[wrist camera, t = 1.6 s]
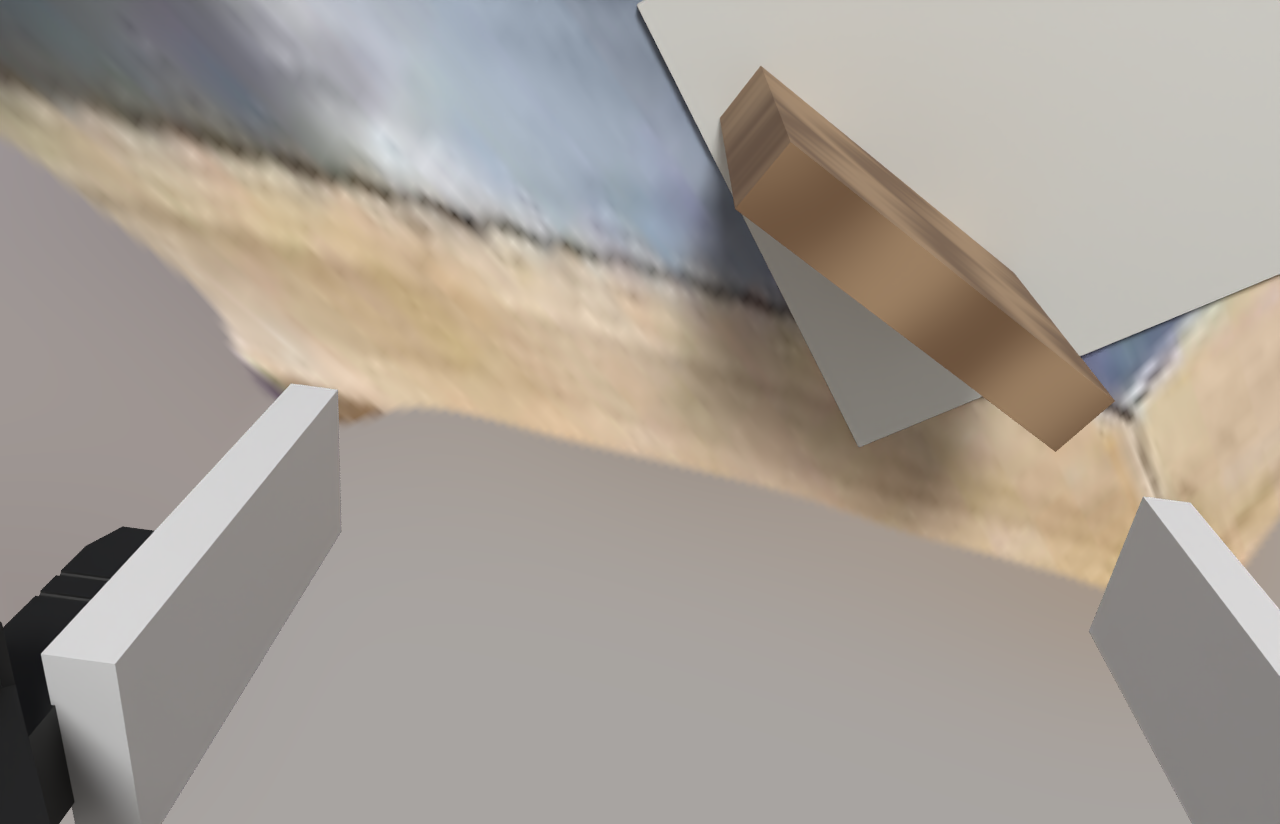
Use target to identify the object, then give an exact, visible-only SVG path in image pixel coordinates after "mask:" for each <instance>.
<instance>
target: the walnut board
mask: <svg viewBox="0 0 1280 824" xmlns="http://www.w3.org/2000/svg"><path fill="white" fill-rule="evenodd" d="M720 123H721V129H722V135H723V141H724V147H725V153H726V159H727V164H728V170H729V176H730V182H731V188H732V194H733V200H734V206H735V209H736V210H737V211H738V212H740V213H741V214H742V215H744V216H745V217H746V218H748V219H749V220H750V221H752V222H753V223H754V224H756V225H757V226H758V227H760V228H761V229H762V230H764V231H765V232H766V233H768V234H769V235H770V236H771V237H773V238H774V239H775V240H777V241H778V242H779V243H781V244H782V245H783V246H785V247H786V248H787V249H789V250H790V251H791V252H793V253H794V254H795V255H797V256H798V257H799V258H801V259H802V260H803V261H804V262H806V263H807V264H808V265H810V266H811V267H812V268H814V269H815V270H816V271H818V272H819V273H820V274H822V275H823V276H824V277H826V278H827V279H828V280H830V281H831V282H832V283H834V284H835V285H836V286H837V287H839V288H840V289H841V290H843V291H844V292H845V293H847V294H848V295H849V296H851V297H852V298H853V299H855V300H856V301H857V302H859V303H860V304H861V305H863V306H864V307H865V308H867V309H868V310H869V311H870V312H872V313H873V314H874V315H876V316H877V317H878V318H880V319H881V320H882V321H884V322H885V323H886V324H888V325H889V326H890V327H892V328H893V329H894V330H896V331H897V332H898V333H900V334H901V335H902V336H903V337H905V338H906V339H907V340H909V341H910V342H911V343H913V344H914V345H915V346H917V347H918V348H919V349H921V350H922V351H923V352H925V353H926V354H927V355H929V356H930V357H931V358H933V359H934V360H935V361H936V362H938V363H939V364H940V365H942V366H943V367H944V368H946V369H947V370H948V371H950V372H951V373H952V374H954V375H955V376H956V377H958V378H959V379H960V380H962V381H963V382H964V383H966V384H967V385H968V386H969V387H971V388H972V389H973V390H975V391H976V392H977V393H979V394H980V395H981V396H983V397H984V398H985V399H987V400H988V401H989V402H991V403H992V404H993V405H995V406H996V407H997V408H999V409H1000V410H1001V411H1002V412H1004V413H1005V414H1006V415H1008V416H1009V417H1010V418H1012V419H1013V420H1014V421H1016V422H1017V423H1018V424H1020V425H1021V426H1022V427H1024V428H1025V429H1026V430H1028V431H1029V432H1030V433H1032V434H1033V435H1034V436H1035V437H1037V438H1038V439H1039V440H1041V441H1042V442H1043V443H1045V444H1046V445H1047V446H1049V447H1050V448H1051V449H1053V450H1054V451H1055V452H1056V451H1057V450H1058V449H1060V448H1061V447H1062V446H1063V445H1064V444H1065V443H1066V442H1068V441H1069V440H1070V439H1071V438H1072V437H1073V436H1075V435H1076V434H1077V433H1078V432H1079V431H1080V430H1082V429H1083V428H1084V427H1085V426H1086V425H1087V424H1089V423H1090V422H1091V421H1092V420H1093V419H1094V418H1096V417H1097V416H1098V415H1099V414H1100V413H1101V412H1103V411H1104V410H1105V409H1106V408H1107V407H1108V406H1109V405H1111V404H1112V403H1113V402H1114V401H1115V400H1114V399H1113V398H1112V397H1111V395H1110V394H1109V393H1108V391H1107V390H1106V389H1105V388H1104V386H1103V385H1102V384H1101V383H1100V381H1099V380H1098V379H1097V378H1096V376H1095V375H1094V374H1093V372H1092V371H1091V370H1090V369H1089V367H1088V366H1087V365H1086V364H1085V362H1084V361H1083V360H1082V358H1081V357H1080V356H1079V355H1078V353H1077V352H1076V351H1075V350H1074V348H1073V347H1072V346H1071V345H1070V343H1069V342H1068V341H1067V339H1066V338H1065V337H1064V336H1063V334H1062V333H1061V332H1060V331H1059V329H1058V328H1057V327H1056V325H1055V324H1054V323H1053V322H1052V320H1051V319H1050V318H1049V317H1048V315H1047V314H1046V313H1045V312H1044V310H1043V309H1042V308H1041V306H1040V305H1039V304H1038V303H1037V301H1036V300H1035V299H1034V298H1033V296H1032V295H1031V294H1030V292H1029V291H1028V290H1027V289H1026V287H1025V286H1024V285H1023V284H1022V282H1021V281H1020V280H1019V278H1018V277H1017V276H1016V275H1015V273H1014V272H1012V271H1011V270H1010V269H1009V268H1008V267H1006V266H1005V265H1004V264H1003V263H1001V262H1000V261H999V260H998V259H997V258H995V257H994V256H993V255H992V254H990V253H989V252H988V251H987V250H986V249H984V248H983V247H982V246H981V245H980V244H978V243H977V242H976V241H975V240H973V239H972V238H971V237H970V236H969V235H967V234H966V233H965V232H964V231H962V230H961V229H960V228H959V227H958V226H956V225H955V224H954V223H953V222H951V221H950V220H949V219H948V218H947V217H945V216H944V215H943V214H942V213H940V212H939V211H938V210H937V209H936V208H934V207H933V206H932V205H931V204H929V203H928V202H927V201H926V200H925V199H923V198H922V197H921V196H920V195H918V194H917V193H916V192H915V191H914V190H912V189H911V188H910V187H909V186H907V185H906V184H905V183H904V182H903V181H901V180H900V179H899V178H898V177H896V176H895V175H894V174H893V173H892V172H890V171H889V170H888V169H887V168H885V167H884V166H883V165H882V164H881V163H879V162H878V161H877V160H876V159H874V158H873V157H872V156H871V155H870V154H868V153H867V152H866V151H865V150H863V149H862V148H861V147H860V146H859V145H857V144H856V143H855V142H854V141H852V140H851V139H850V138H849V137H848V136H846V135H845V134H844V133H843V132H841V131H840V130H839V129H838V128H837V127H835V126H834V125H833V124H832V123H830V122H829V121H828V120H827V119H826V118H824V117H823V116H822V115H821V114H819V113H818V112H817V111H816V110H815V109H813V108H812V107H811V106H810V105H808V104H807V103H806V102H805V101H804V100H802V99H801V98H800V97H799V96H797V95H796V94H795V93H794V92H793V91H791V90H790V89H789V88H788V87H786V86H785V85H784V84H783V83H782V82H780V81H779V80H778V79H777V78H775V77H774V76H773V75H772V74H771V73H769V72H768V71H767V70H766V69H764V68H763V67H762V66H760V67H759V68H758V70H757V71H756V72H755V74H754V75H753V76H752V77H751V79H750V80H749V81H748V83H747V84H746V85H745V86H744V88H743V89H742V90H741V91H740V93H739V94H738V95H737V97H736V98H735V99H734V100H733V102H732V103H731V104H730V106H729V107H728V108H727V109H726V111H725V112H724V113H723V115H722V116H721V117H720Z"/></svg>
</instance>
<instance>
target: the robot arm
mask: <svg viewBox="0 0 1280 824" xmlns="http://www.w3.org/2000/svg"><path fill="white" fill-rule="evenodd" d="M339 457H340V456H339V417H338V390H335V389H328V388H320V387H313V386H305V385H298V384H290V385H289V386H288V388H287V389H286V390H285V391H284V392H283V393H282V394H281V395H280V396H279V397H278V398H277V399H276V401H275V402H274V403H273V404H272V405H271V406H270V407H269V408H268V409H267V410H266V411H265V413H263V415H262V416H261V417H260V418H259V419H258V420H257V421H256V422H255V423H254V424H253V425H252V426H251V428H250V429H249V430H248V431H247V432H246V433H245V434H244V435H243V436H242V437H241V438H240V440H239V441H238V442H237V443H236V444H235V445H234V446H233V447H232V448H231V449H230V450H229V451H228V452H227V454H226V455H225V456H224V457H223V458H222V459H221V460H220V461H219V462H218V463H217V464H216V465H215V466H214V468H213V469H212V470H211V471H210V472H209V473H208V474H207V475H206V476H205V477H204V478H203V479H202V481H201V482H200V483H199V484H198V485H197V486H196V487H195V488H194V489H193V490H192V491H191V492H190V493H189V495H188V496H187V497H186V498H185V499H184V500H183V501H182V502H181V503H180V504H179V505H178V507H176V509H175V510H174V511H173V512H172V513H171V514H170V515H169V516H168V517H167V518H166V519H165V520H164V521H163V523H162V524H161V525H160V526H159V527H158V528H157V529H156V530H155V531H152V530H144V529H137V528H130V527H121V528H119V529H117V530H115V531H113V532H112V533H110V534H108V535H106V536H104V537H102V538H100V539H98V540H96V541H94V542H93V543H91V544H89V545H87V546H86V547H84V548H83V549H82V551H81V552H79V553H78V554H77V555H76V556H75V557H74V558H73V559H72V560H71V561H70V562H69V563H68V564H67V565H66V566H65V567H64V568H63V569H62V570H61V574H60V576H57V575H56V576H55V577H54V578H53V579H52V580H51V581H50V582H49V583H48V584H47V585H46V586H45V587H44V588H43V589H42V590H41V593H40V595H39V596H35V597H34V598H33V599H32V600H31V601H30V602H29V603H28V604H27V605H26V606H25V607H24V608H23V609H22V610H21V611H20V612H18V614H16V615H15V617H13V618H12V619H11V620H10V621H9V622H8V623H7V624H6V625H5V626H4V627H3V626H2V623H1V622H0V824H59V823H60V822H61V820H62V819H63V818H64V816H65V815H66V813H67V812H68V811H69V809H70V808H71V807H72V810H73V814H74V820H75V824H162V822H163V821H164V819H165V818H166V816H167V814H168V813H169V811H170V809H171V808H172V806H173V805H174V803H175V801H176V800H177V798H178V796H179V795H180V793H181V791H182V790H183V788H184V787H185V785H186V783H187V782H188V780H189V778H190V777H191V775H192V774H193V772H194V770H195V768H196V767H197V766H198V764H199V762H200V761H201V759H202V757H203V756H204V754H205V753H206V751H207V749H208V748H209V746H210V744H211V743H212V741H213V739H214V737H215V736H216V734H217V733H218V731H219V730H220V728H221V727H222V725H223V723H224V722H225V720H226V718H227V717H228V715H229V713H230V712H231V710H232V709H233V707H234V705H235V703H236V702H237V701H238V699H239V697H240V696H241V694H242V692H243V691H244V689H245V687H246V686H247V684H248V682H249V681H250V679H251V677H252V676H253V674H254V673H255V671H256V670H257V668H258V666H259V665H260V663H261V661H262V660H263V658H264V656H265V655H266V653H267V651H268V650H269V648H270V647H271V645H272V643H273V642H274V640H275V639H276V637H277V635H278V634H279V632H280V631H281V629H282V627H283V626H284V624H285V622H286V621H287V619H288V617H289V616H290V614H291V613H292V611H293V609H294V608H295V606H296V605H297V603H298V601H299V599H300V598H301V596H302V595H303V593H304V592H305V590H306V588H307V587H308V585H309V583H310V582H311V580H312V578H313V577H314V575H315V574H316V572H317V570H318V569H319V567H320V566H321V564H322V562H323V561H324V559H325V557H326V556H327V554H328V553H329V551H330V549H331V548H332V546H333V544H334V543H335V541H336V539H337V538H338V536H339V535H340V533H341V496H340V458H339ZM1089 633H1090V634H1091V636H1092V638H1093V640H1094V642H1095V644H1096V646H1097V648H1098V649H1099V651H1100V653H1101V655H1102V657H1103V659H1104V661H1105V662H1106V664H1107V666H1108V668H1109V670H1110V672H1111V674H1112V675H1113V677H1114V679H1115V681H1116V683H1117V685H1118V687H1119V689H1120V690H1121V692H1122V694H1123V696H1124V698H1125V700H1126V701H1127V703H1128V705H1129V707H1130V709H1131V711H1132V713H1133V715H1134V717H1135V718H1136V720H1137V722H1138V724H1139V726H1140V728H1141V730H1142V731H1143V733H1144V735H1145V737H1146V739H1147V741H1148V743H1149V744H1150V746H1151V748H1152V750H1153V752H1154V754H1155V756H1156V758H1157V759H1158V761H1159V763H1160V765H1161V767H1162V769H1163V770H1164V772H1165V774H1166V776H1167V778H1168V780H1169V782H1170V784H1171V786H1172V787H1173V789H1174V791H1175V793H1176V795H1177V797H1178V799H1179V800H1180V802H1181V804H1182V806H1183V808H1184V810H1185V812H1186V813H1187V815H1188V817H1189V819H1190V821H1191V823H1192V824H1280V610H1279V609H1278V607H1277V606H1276V605H1275V604H1274V602H1273V601H1272V600H1271V599H1270V598H1269V596H1268V595H1267V594H1266V593H1265V592H1264V590H1263V589H1262V588H1261V587H1260V586H1259V585H1258V583H1257V582H1256V581H1255V580H1254V578H1253V577H1252V576H1251V575H1250V574H1249V572H1248V571H1247V570H1246V569H1245V568H1244V566H1243V565H1242V564H1241V563H1240V562H1239V560H1238V559H1237V558H1236V557H1235V556H1234V554H1233V553H1232V552H1231V551H1230V550H1229V548H1228V547H1227V546H1226V545H1225V544H1224V542H1223V541H1222V540H1221V539H1220V538H1219V536H1218V535H1217V534H1216V533H1215V532H1214V530H1213V529H1212V528H1211V527H1210V526H1209V524H1208V523H1207V522H1206V521H1205V520H1204V518H1203V517H1202V516H1201V515H1200V514H1199V512H1198V511H1197V510H1196V509H1195V508H1194V506H1193V505H1192V504H1191V503H1188V502H1181V501H1173V500H1166V499H1158V498H1151V497H1143V498H1142V501H1141V503H1140V506H1139V508H1138V511H1137V513H1136V516H1135V518H1134V521H1133V523H1132V525H1131V528H1130V530H1129V533H1128V535H1127V538H1126V540H1125V543H1124V545H1123V548H1122V550H1121V553H1120V555H1119V558H1118V560H1117V563H1116V565H1115V568H1114V570H1113V573H1112V575H1111V578H1110V580H1109V583H1108V585H1107V588H1106V590H1105V593H1104V595H1103V598H1102V600H1101V603H1100V605H1099V607H1098V610H1097V612H1096V615H1095V617H1094V620H1093V623H1092V625H1091V627H1090V630H1089Z"/></svg>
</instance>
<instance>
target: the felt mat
mask: <svg viewBox="0 0 1280 824" xmlns="http://www.w3.org/2000/svg"><path fill="white" fill-rule="evenodd" d="M637 6H638V8H639V10H640V12H641V14H642V16H643V18H644V20H645V22H646V24H647V26H648V28H649V30H650V32H651V34H652V36H653V38H654V40H655V42H656V44H657V46H658V48H659V50H660V52H661V54H662V56H663V58H664V60H665V62H666V64H667V66H668V68H669V70H670V72H671V74H672V76H673V78H674V80H675V82H676V84H677V86H678V88H679V90H680V92H681V94H682V96H683V98H684V100H685V102H686V104H687V106H688V108H689V110H690V112H691V114H692V116H693V118H694V120H695V122H696V124H697V126H698V128H699V130H700V132H701V134H702V136H703V138H704V140H705V142H706V144H707V146H708V148H709V150H710V152H711V154H712V156H713V158H714V160H715V162H716V164H717V166H718V168H719V170H720V172H721V174H722V176H723V178H724V180H725V182H726V184H727V186H728V188H729V190H730V192H731V194H732V188H731V182H730V176H729V170H728V164H727V159H726V153H725V147H724V141H723V135H722V129H721V123H720V117H721V116H722V115H723V113H724V112H725V111H726V109H727V108H728V107H729V106H730V104H731V103H732V102H733V100H734V99H735V98H736V97H737V95H738V94H739V93H740V91H741V90H742V89H743V88H744V86H745V85H746V84H747V83H748V81H749V80H750V79H751V77H752V76H753V75H754V74H755V72H756V71H757V70H758V68H759V67H760V66H762V67H763V68H764V69H766V70H767V71H768V72H769V73H771V74H772V75H773V76H774V77H775V78H777V79H778V80H779V81H780V82H782V83H783V84H784V85H785V86H786V87H788V88H789V89H790V90H791V91H793V92H794V93H795V94H796V95H797V96H799V97H800V98H801V99H802V100H804V101H805V102H806V103H807V104H808V105H810V106H811V107H812V108H813V109H815V110H816V111H817V112H818V113H819V114H821V115H822V116H823V117H824V118H826V119H827V120H828V121H829V122H830V123H832V124H833V125H834V126H835V127H837V128H838V129H839V130H840V131H841V132H843V133H844V134H845V135H846V136H848V137H849V138H850V139H851V140H852V141H854V142H855V143H856V144H857V145H859V146H860V147H861V148H862V149H863V150H865V151H866V152H867V153H868V154H870V155H871V156H872V157H873V158H874V159H876V160H877V161H878V162H879V163H881V164H882V165H883V166H884V167H885V168H887V169H888V170H889V171H890V172H892V173H893V174H894V175H895V176H896V177H898V178H899V179H900V180H901V181H903V182H904V183H905V184H906V185H907V186H909V187H910V188H911V189H912V190H914V191H915V192H916V193H917V194H918V195H920V196H921V197H922V198H923V199H925V200H926V201H927V202H928V203H929V204H931V205H932V206H933V207H934V208H936V209H937V210H938V211H939V212H940V213H942V214H943V215H944V216H945V217H947V218H948V219H949V220H950V221H951V222H953V223H954V224H955V225H956V226H958V227H959V228H960V229H961V230H962V231H964V232H965V233H966V234H967V235H969V236H970V237H971V238H972V239H973V240H975V241H976V242H977V243H978V244H980V245H981V246H982V247H983V248H984V249H986V250H987V251H988V252H989V253H990V254H992V255H993V256H994V257H995V258H997V259H998V260H999V261H1000V262H1001V263H1003V264H1004V265H1005V266H1006V267H1008V268H1009V269H1010V270H1011V271H1012V272H1014V273H1015V275H1016V276H1017V277H1018V278H1019V280H1020V281H1021V282H1022V284H1023V285H1024V286H1025V287H1026V289H1027V290H1028V291H1029V292H1030V294H1031V295H1032V296H1033V298H1034V299H1035V300H1036V301H1037V303H1038V304H1039V305H1040V306H1041V308H1042V309H1043V310H1044V312H1045V313H1046V314H1047V315H1048V317H1049V318H1050V319H1051V320H1052V322H1053V323H1054V324H1055V325H1056V327H1057V328H1058V329H1059V331H1060V332H1061V333H1062V334H1063V336H1064V337H1065V338H1066V339H1067V341H1068V342H1069V343H1070V345H1071V346H1072V347H1073V348H1074V350H1075V351H1076V352H1077V353H1078V355H1079V356H1082V355H1084V354H1087V353H1089V352H1092V351H1094V350H1097V349H1099V348H1101V347H1104V346H1106V345H1109V344H1111V343H1114V342H1116V341H1118V340H1121V339H1123V338H1126V337H1128V336H1130V335H1133V334H1135V333H1138V332H1140V331H1143V330H1145V329H1147V328H1150V327H1152V326H1155V325H1157V324H1160V323H1162V322H1164V321H1167V320H1169V319H1172V318H1174V317H1177V316H1179V315H1181V314H1184V313H1186V312H1189V311H1191V310H1194V309H1196V308H1198V307H1201V306H1203V305H1206V304H1208V303H1211V302H1213V301H1215V300H1218V299H1220V298H1223V297H1225V296H1227V295H1230V294H1232V293H1235V292H1237V291H1240V290H1242V289H1244V288H1247V287H1249V286H1252V285H1254V284H1257V283H1259V282H1261V281H1264V280H1266V279H1269V278H1271V277H1274V276H1276V275H1278V274H1280V0H643V1H641V2H640V3H638V4H637ZM732 196H733V194H732ZM742 216H743V218H744V220H745V222H746V224H747V226H748V228H749V230H750V232H751V234H752V236H753V238H754V240H755V242H756V244H757V246H758V248H759V250H760V252H761V254H762V256H763V258H764V260H765V262H766V264H767V266H768V268H769V270H770V272H771V274H772V276H773V278H774V280H775V282H776V284H777V286H778V288H779V289H780V291H781V293H782V295H783V297H784V299H785V301H786V303H787V305H788V307H789V309H790V311H791V313H792V315H793V317H794V319H795V321H796V323H797V325H798V327H799V329H800V331H801V333H802V335H803V337H804V339H805V341H806V343H807V345H808V347H809V349H810V351H811V353H812V355H813V357H814V359H815V361H816V363H817V365H818V367H819V369H820V371H821V373H822V375H823V377H824V379H825V381H826V383H827V385H828V387H829V389H830V391H831V393H832V395H833V397H834V399H835V401H836V403H837V405H838V407H839V409H840V411H841V413H842V415H843V417H844V419H845V421H846V423H847V425H848V427H849V429H850V431H851V433H852V435H853V437H854V439H855V441H856V443H857V445H858V447H861V446H864V445H866V444H869V443H871V442H873V441H876V440H878V439H881V438H883V437H886V436H888V435H890V434H893V433H895V432H898V431H900V430H903V429H905V428H907V427H910V426H912V425H915V424H917V423H920V422H922V421H924V420H927V419H929V418H932V417H934V416H937V415H939V414H941V413H944V412H946V411H949V410H951V409H954V408H956V407H958V406H961V405H963V404H966V403H968V402H970V401H973V400H975V399H978V398H980V397H983V396H981V395H980V394H979V393H977V392H976V391H975V390H973V389H972V388H971V387H969V386H968V385H967V384H966V383H964V382H963V381H962V380H960V379H959V378H958V377H956V376H955V375H954V374H952V373H951V372H950V371H948V370H947V369H946V368H944V367H943V366H942V365H940V364H939V363H938V362H936V361H935V360H934V359H933V358H931V357H930V356H929V355H927V354H926V353H925V352H923V351H922V350H921V349H919V348H918V347H917V346H915V345H914V344H913V343H911V342H910V341H909V340H907V339H906V338H905V337H903V336H902V335H901V334H900V333H898V332H897V331H896V330H894V329H893V328H892V327H890V326H889V325H888V324H886V323H885V322H884V321H882V320H881V319H880V318H878V317H877V316H876V315H874V314H873V313H872V312H870V311H869V310H868V309H867V308H865V307H864V306H863V305H861V304H860V303H859V302H857V301H856V300H855V299H853V298H852V297H851V296H849V295H848V294H847V293H845V292H844V291H843V290H841V289H840V288H839V287H837V286H836V285H835V284H834V283H832V282H831V281H830V280H828V279H827V278H826V277H824V276H823V275H822V274H820V273H819V272H818V271H816V270H815V269H814V268H812V267H811V266H810V265H808V264H807V263H806V262H804V261H803V260H802V259H801V258H799V257H798V256H797V255H795V254H794V253H793V252H791V251H790V250H789V249H787V248H786V247H785V246H783V245H782V244H781V243H779V242H778V241H777V240H775V239H774V238H773V237H771V236H770V235H769V234H768V233H766V232H765V231H764V230H762V229H761V228H760V227H758V226H757V225H756V224H754V223H753V222H752V221H750V220H749V219H748V218H746V217H745V216H744V215H742Z"/></svg>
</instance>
